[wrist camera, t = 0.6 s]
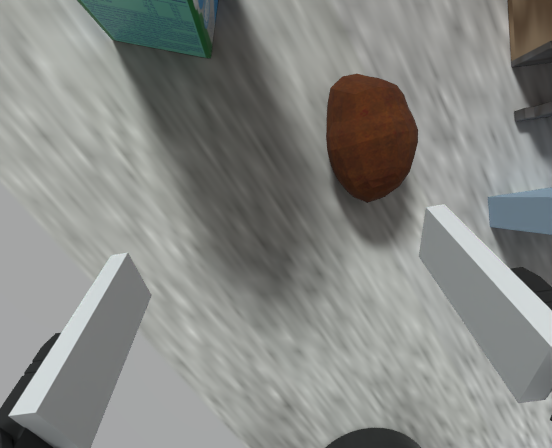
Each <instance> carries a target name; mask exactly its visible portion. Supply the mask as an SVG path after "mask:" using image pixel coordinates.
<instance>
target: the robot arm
mask: <svg viewBox="0 0 552 448" xmlns="http://www.w3.org/2000/svg"><path fill="white" fill-rule="evenodd" d="M419 257H420V259H421V260H422V262H423V263H424V265H425V266H426V268H427V269H428V271H429V272H430V274H431V275H432V277H433V278H434V280H435V281H436V282H437V284H438V285H439V287H440V288H441V290H442V291H443V293H444V294H445V296H446V297H447V299H448V300H449V302H450V303H451V305H452V306H453V308H454V309H455V310H456V312H457V313H458V315H459V316H460V318H461V319H462V321H463V322H464V324H465V325H466V327H467V328H468V330H469V331H470V333H471V334H472V336H473V337H474V338H475V340H476V341H477V343H478V344H479V346H480V347H481V349H482V350H483V352H484V353H485V355H486V356H487V358H488V359H489V361H490V362H491V364H492V365H493V366H494V368H495V369H496V371H497V372H498V374H499V375H500V377H501V378H502V380H503V381H504V383H505V384H506V386H507V387H508V389H509V390H510V392H511V393H512V394H513V396H514V397H515V399H516V400H517V402H518V403H522V402H530V401H539V400H545V399H546V398H547V397H548V395H549V394H550V392H551V391H552V287H551V286H550V285H549V284H548V283H546V282H545V281H544V280H543V279H542V278H541V277H540V276H538V275H536V274H534V273H532V272H530V271H529V270H527V269H525V268H523V267H519V268H512V269H509V268H508V267H507V266H506V265H505V264H504V263H503V262H502V261H501V260H500V259H499V258H498V257H497V256H496V255H495V254H494V253H493V252H492V251H491V250H490V249H489V248H488V247H487V246H486V245H485V244H484V243H483V242H482V241H481V240H480V239H479V238H478V237H477V236H476V235H475V234H474V233H473V232H472V231H471V230H470V229H469V228H468V227H467V226H466V225H465V224H464V223H463V222H462V221H461V220H460V219H459V218H458V217H457V216H456V215H455V214H454V213H453V212H452V211H451V210H449V209H448V208H447V207H446V206H445V205H444V204H443V205H437V206H430V207H426V210H425V217H424V224H423V231H422V238H421V245H420V252H419ZM150 298H151V293H150V292H149V290H148V288H147V286H146V284H145V283H144V281H143V279H142V277H141V275H140V274H139V272H138V270H137V268H136V266H135V265H134V263H133V261H132V259H131V257H130V256H129V254H128V253H122V254H116V255H111V256H110V258H109V260H108V261H107V263H106V264H105V266H104V267H103V269H102V271H101V272H100V274H99V275H98V277H97V278H96V280H95V281H94V283H93V285H92V286H91V288H90V289H89V291H88V292H87V294H86V295H85V297H84V299H83V300H82V302H81V303H80V305H79V306H78V308H77V310H76V311H75V313H74V314H73V316H72V317H71V319H70V320H69V322H68V324H67V325H66V327H65V328H64V330H63V331H62V333H56V334H55V335H54V336H53V337H51V339H50V340H48V341H47V342H46V343H45V344H44V345H43V346H42V348H41V349H40V350H39V352H38V353H37V355H36V356H35V358H34V359H33V363H32V364H30V365H29V367H28V368H27V370H26V371H25V375H24V376H22V377H21V379H20V380H19V382H18V383H17V384H16V386H15V387H14V389H13V390H12V392H11V393H10V395H9V396H8V398H7V399H6V401H5V402H4V404H3V405H2V407H1V408H0V448H91V445H92V443H93V440H94V438H95V435H96V433H97V430H98V428H99V425H100V423H101V420H102V418H103V415H104V413H105V410H106V408H107V405H108V402H109V400H110V398H111V395H112V393H113V390H114V388H115V385H116V383H117V380H118V378H119V375H120V373H121V370H122V368H123V365H124V363H125V360H126V358H127V355H128V353H129V350H130V348H131V345H132V343H133V340H134V338H135V335H136V333H137V330H138V328H139V325H140V323H141V320H142V318H143V315H144V313H145V310H146V308H147V305H148V303H149V300H150ZM550 420H551V421H552V415H551V418H550ZM326 448H421V447H420V446H419V445H418V444H417V443H416V442H415V441H414V440H412V439H411V438H409V437H408V436H406V435H404V434H402V433H400V432H397V431H394V430H390V429H384V428H367V429H361V430H357V431H354V432H351V433H348V434H346V435H344V436H342V437H340V438H338V439H336V440H335V441H333V442H332V443H331V444H329V445H328V446H327V447H326Z"/></svg>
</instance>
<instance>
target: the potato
mask: <svg viewBox="0 0 552 448" xmlns="http://www.w3.org/2000/svg"><path fill="white" fill-rule="evenodd" d="M326 139H327V151H328V155H329V160H330V163H331V166H332V169H333V171H334V173H335V175H336V177H337V179H338V181H339V182H340V183H341V184H342V186H343V187H344V188H345V189H346V190H347V191H348V192H349V193H350V194H351V195H352V196H353V197H355V198H358V199H360V200H362V201H365V202H367V203H368V202H371V201H374V200H377V199H380V198H382V197H385V196H386V195H388V194H389V193H390V192H392V191H393V190H395V189H396V188H397V187H399V186H400V184H401V183H402V181H403V180H404V179H405V177H406V176H407V175H408V173H409V172H410V169H411V165H412V162H413V159H414V155H415V151H416V147H417V143H418V129H417V126H416V123H415V120H414V118H413V116H412V114H411V112H410V110H409V108H408V105H407V102H406V100H405V97H404V94H403V93H402V92H401V90H400V89H399V88H398V86H397V85H395V84H392V83H390V82H388V81H385V80H382V79H379V78H374V77H368V76H364V75H360V74H353V75H348V76H343V77H342V78H341V79H339V80H338V81H337V82H336V83H335V84H334V85H333V86H332V87H331V89H330V94H329V99H328V106H327V134H326Z"/></svg>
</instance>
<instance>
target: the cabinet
mask: <svg viewBox="0 0 552 448" xmlns="http://www.w3.org/2000/svg"><path fill="white" fill-rule="evenodd" d="M508 13H509V30H510V46H511V63H512V67H518V66H527V65H535V64H543V63H552V0H508ZM514 113H515V121H521V120H529V119H536V118H544V117H551V116H552V101H551V102H548V103H545V104H542V105H538V106H535V107H529V108H524V109H520V110H517V111H514Z"/></svg>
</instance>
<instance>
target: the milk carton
mask: <svg viewBox="0 0 552 448" xmlns="http://www.w3.org/2000/svg"><path fill="white" fill-rule="evenodd" d="M77 1H78V2H79V3H80V4H81V5H82V6H83V8H84V9H85V10H86V11H87V12H88V13H89V14H90V15H91V17H92V18H93V19H94V20H95V21H96V22H97V23H98V24H99V26H100V27H101V28H102V29H103V30H104V31H105V32H106V33H107V35H108V36H109V37H110V38H111V39H112V40H116V41H121V42H126V43H131V44H136V45H142V46H147V47H152V48H157V49H163V50H168V51H173V52H178V53H184V54H189V55H194V56H199V57H204V58H211V52H212V44H213V36H214V29H215V21H216V13H217V5H218V0H77Z"/></svg>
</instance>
